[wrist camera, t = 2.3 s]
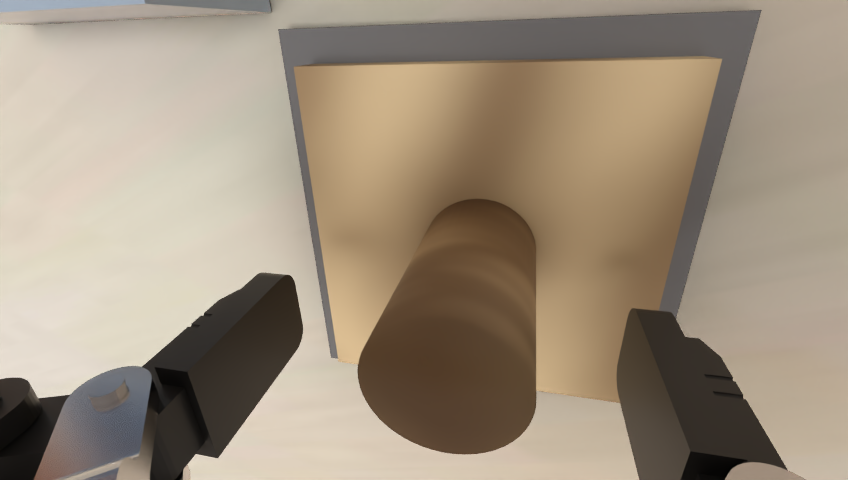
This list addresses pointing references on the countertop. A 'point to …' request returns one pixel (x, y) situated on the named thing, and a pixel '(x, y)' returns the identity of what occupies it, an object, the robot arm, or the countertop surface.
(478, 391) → the lid
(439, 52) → the mat
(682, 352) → the robot arm
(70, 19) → the dish
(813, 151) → the countertop surface
